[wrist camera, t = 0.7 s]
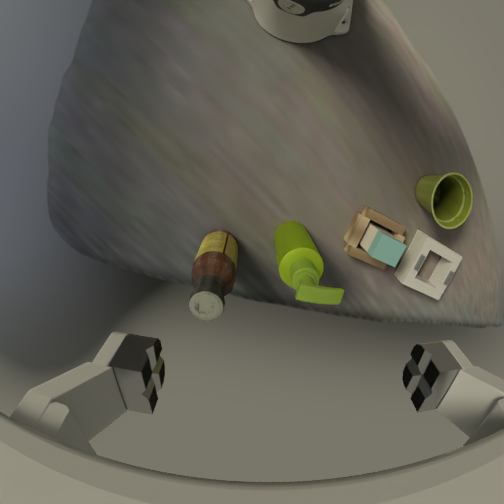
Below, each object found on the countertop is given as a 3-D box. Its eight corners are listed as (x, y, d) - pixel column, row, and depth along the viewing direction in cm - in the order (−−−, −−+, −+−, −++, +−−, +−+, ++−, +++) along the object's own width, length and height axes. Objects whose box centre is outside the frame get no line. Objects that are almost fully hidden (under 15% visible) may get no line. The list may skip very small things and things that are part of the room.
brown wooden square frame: (360, 203, 48) (366, 206, 45) (402, 224, 49) (409, 229, 46) (339, 246, 50) (343, 252, 48) (381, 265, 52) (387, 271, 49)
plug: (365, 220, 49) (383, 233, 41) (387, 230, 49) (406, 245, 42) (355, 240, 50) (371, 256, 43) (377, 250, 51) (394, 267, 43)
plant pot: (449, 207, 47) (475, 219, 39) (412, 222, 49) (435, 236, 40) (441, 161, 44) (468, 167, 36) (402, 173, 45) (427, 180, 37)
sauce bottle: (196, 250, 51) (165, 310, 33) (214, 221, 49) (188, 269, 31) (228, 269, 52) (213, 337, 34) (247, 241, 50) (241, 299, 32)
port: (417, 229, 49) (429, 236, 45) (452, 250, 50) (464, 258, 46) (393, 274, 52) (403, 285, 48) (429, 291, 54) (439, 301, 49)
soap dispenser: (309, 257, 51) (335, 320, 33) (270, 250, 51) (278, 313, 32) (317, 225, 49) (351, 276, 31) (277, 218, 49) (290, 266, 30)
